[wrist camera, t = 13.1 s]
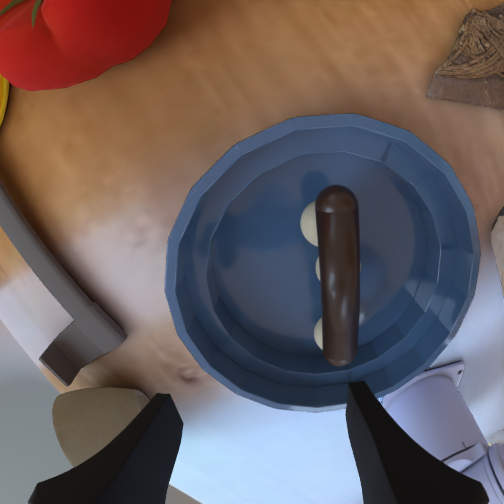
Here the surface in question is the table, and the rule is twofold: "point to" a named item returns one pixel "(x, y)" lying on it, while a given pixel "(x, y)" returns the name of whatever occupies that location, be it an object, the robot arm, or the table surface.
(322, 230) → the stick
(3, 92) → the stacking cups
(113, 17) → the tomato
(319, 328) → the dough ball
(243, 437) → the table surface
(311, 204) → the dough ball
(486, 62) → the brown flat piece
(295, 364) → the bowl
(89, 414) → the flower pot
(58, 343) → the toilet paper hanger
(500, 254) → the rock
